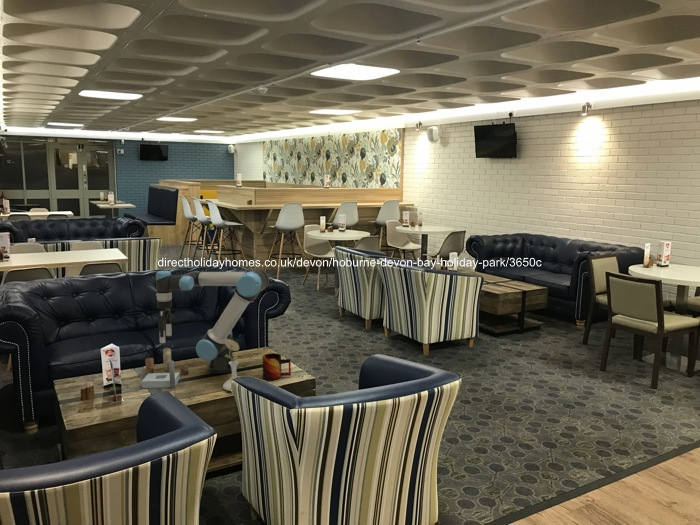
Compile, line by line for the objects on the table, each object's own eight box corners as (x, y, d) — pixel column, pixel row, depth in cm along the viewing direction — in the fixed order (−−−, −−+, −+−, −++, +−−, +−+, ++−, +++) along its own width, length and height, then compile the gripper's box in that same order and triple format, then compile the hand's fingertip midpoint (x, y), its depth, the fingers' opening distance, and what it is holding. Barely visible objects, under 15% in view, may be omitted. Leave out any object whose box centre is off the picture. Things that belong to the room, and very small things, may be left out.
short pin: (189, 373, 302) (188, 364, 301) (187, 375, 298) (187, 366, 297) (181, 373, 301) (181, 364, 301) (179, 375, 297) (179, 366, 297)
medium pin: (155, 373, 300) (154, 357, 299) (153, 376, 296) (152, 360, 295) (147, 374, 300) (146, 358, 299) (145, 376, 296) (144, 360, 295)
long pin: (172, 372, 302) (171, 347, 300) (170, 375, 298) (169, 350, 296) (165, 373, 302) (163, 348, 300) (163, 375, 298) (162, 350, 296)
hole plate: (181, 378, 293) (180, 353, 291) (174, 389, 278) (173, 362, 276) (148, 379, 291) (147, 353, 289) (140, 390, 277) (138, 362, 275)
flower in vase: (250, 389, 278) (249, 340, 275) (231, 394, 271) (229, 345, 267) (236, 382, 288) (234, 335, 284) (216, 388, 280) (215, 339, 276)
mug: (291, 377, 295) (291, 355, 293) (267, 382, 288) (266, 360, 286) (283, 372, 303) (283, 351, 301) (260, 376, 296) (259, 355, 294)
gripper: (163, 295, 306) (164, 333, 309) (150, 305, 282) (152, 346, 285) (177, 295, 307) (178, 332, 310) (165, 305, 282) (167, 345, 285)
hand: (165, 339), depth 297 cm, fingers open, 13 cm apart
